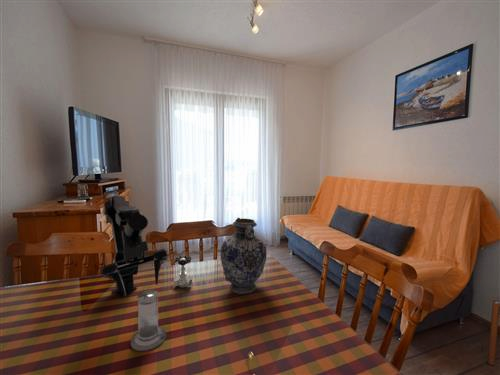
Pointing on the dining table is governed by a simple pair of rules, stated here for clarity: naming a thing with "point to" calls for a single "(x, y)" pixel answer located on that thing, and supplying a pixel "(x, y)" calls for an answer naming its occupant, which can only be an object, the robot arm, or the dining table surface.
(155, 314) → the grey piece
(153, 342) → the silver flat disc
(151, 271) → the dining table surface
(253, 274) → the decorative vase
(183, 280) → the valve
